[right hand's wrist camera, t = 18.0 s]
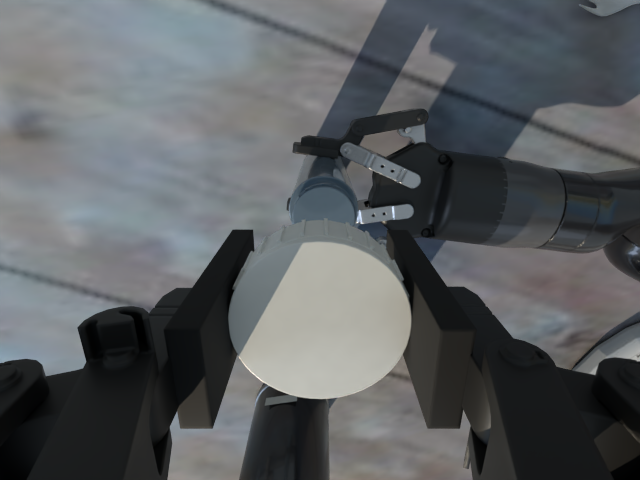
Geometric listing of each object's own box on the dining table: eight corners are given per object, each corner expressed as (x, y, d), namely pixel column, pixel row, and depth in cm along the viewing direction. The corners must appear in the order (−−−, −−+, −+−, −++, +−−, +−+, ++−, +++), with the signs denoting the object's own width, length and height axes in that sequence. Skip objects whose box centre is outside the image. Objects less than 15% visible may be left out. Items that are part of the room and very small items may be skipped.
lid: (218, 333, 12) (202, 369, 11) (269, 190, 11) (260, 207, 9) (360, 380, 13) (367, 421, 11) (430, 253, 11) (449, 279, 10)
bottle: (351, 162, 37) (376, 207, 20) (328, 196, 38) (333, 265, 22) (317, 138, 36) (312, 165, 20) (294, 174, 38) (272, 228, 21)
